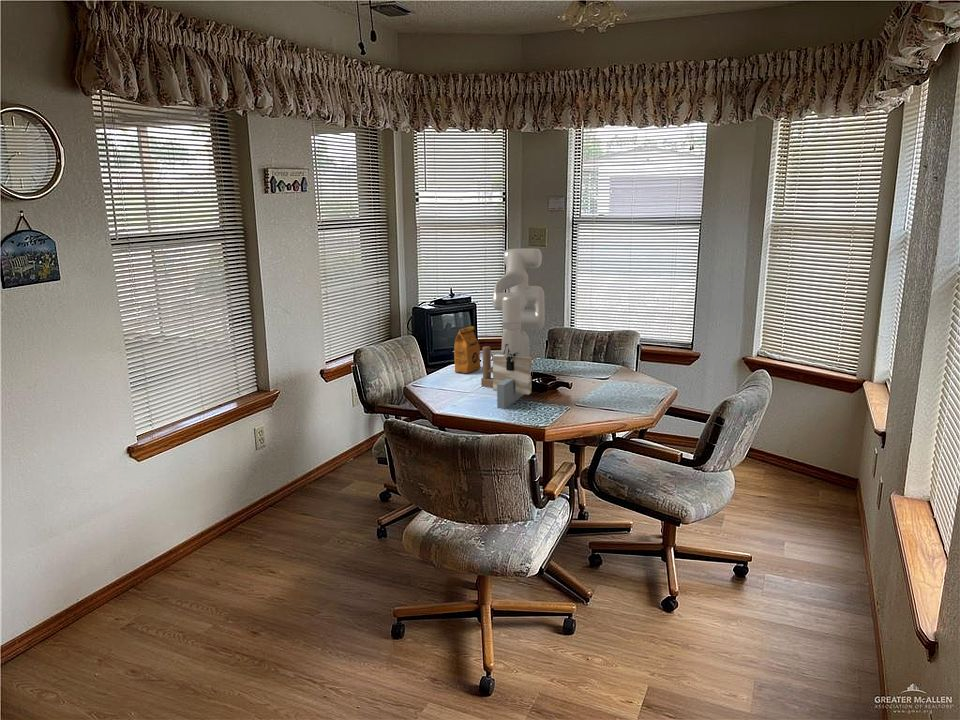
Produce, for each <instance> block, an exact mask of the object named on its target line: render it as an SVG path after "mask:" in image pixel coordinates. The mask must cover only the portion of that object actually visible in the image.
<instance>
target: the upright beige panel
mask: <svg viewBox="0 0 960 720" xmlns="http://www.w3.org/2000/svg"><path fill="white" fill-rule="evenodd" d="M504 355H505V354H494V355H492V366H493V373H492V378H493V388H492V392H497V384H499V383H500V382H502V381H503V380H505V379H507V378H508V379H513V380H514V381H515V393H518V394H525V395H530V394H532V376H531V371H532V357H531V356H529V357H520V356H513V361H514V371H508V370H506V358H505V357H504Z"/></svg>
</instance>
